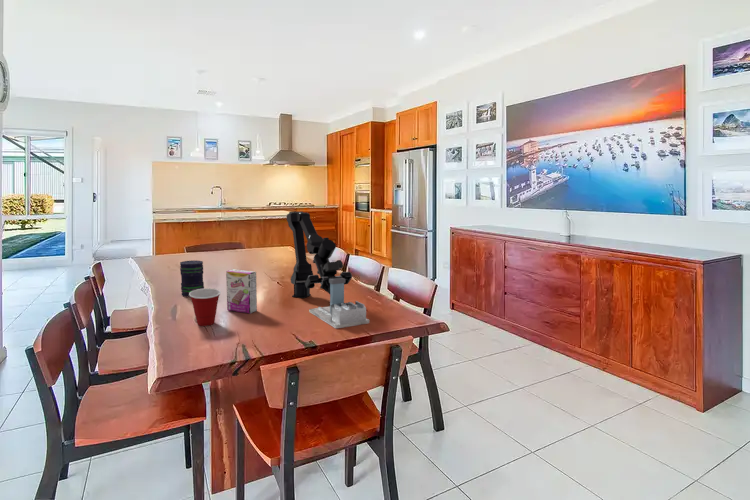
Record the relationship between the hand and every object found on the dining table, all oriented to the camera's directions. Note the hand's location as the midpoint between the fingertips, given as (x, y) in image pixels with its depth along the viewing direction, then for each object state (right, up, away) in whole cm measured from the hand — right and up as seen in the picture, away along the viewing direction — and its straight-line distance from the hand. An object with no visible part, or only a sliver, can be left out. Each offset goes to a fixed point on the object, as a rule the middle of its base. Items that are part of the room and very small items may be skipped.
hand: (335, 297), depth 171 cm
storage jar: (-69, -2, +31) cm, 76 cm away
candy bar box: (-38, -6, +5) cm, 39 cm away
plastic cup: (-46, -8, -12) cm, 48 cm away
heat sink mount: (+1, -8, -1) cm, 8 cm away
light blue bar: (+2, -6, -2) cm, 7 cm away
